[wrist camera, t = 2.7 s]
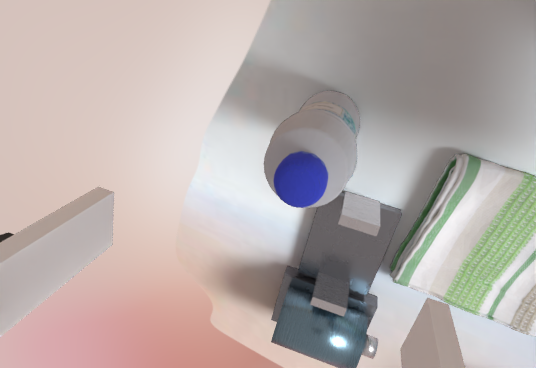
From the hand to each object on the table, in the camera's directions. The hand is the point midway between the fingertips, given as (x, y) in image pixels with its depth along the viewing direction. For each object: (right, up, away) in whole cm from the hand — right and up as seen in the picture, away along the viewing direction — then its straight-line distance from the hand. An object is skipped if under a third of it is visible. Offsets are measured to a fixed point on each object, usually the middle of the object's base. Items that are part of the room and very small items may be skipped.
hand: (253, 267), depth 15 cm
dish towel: (+28, -4, +26) cm, 39 cm away
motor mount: (+10, -7, +32) cm, 34 cm away
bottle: (+7, +11, +25) cm, 28 cm away
